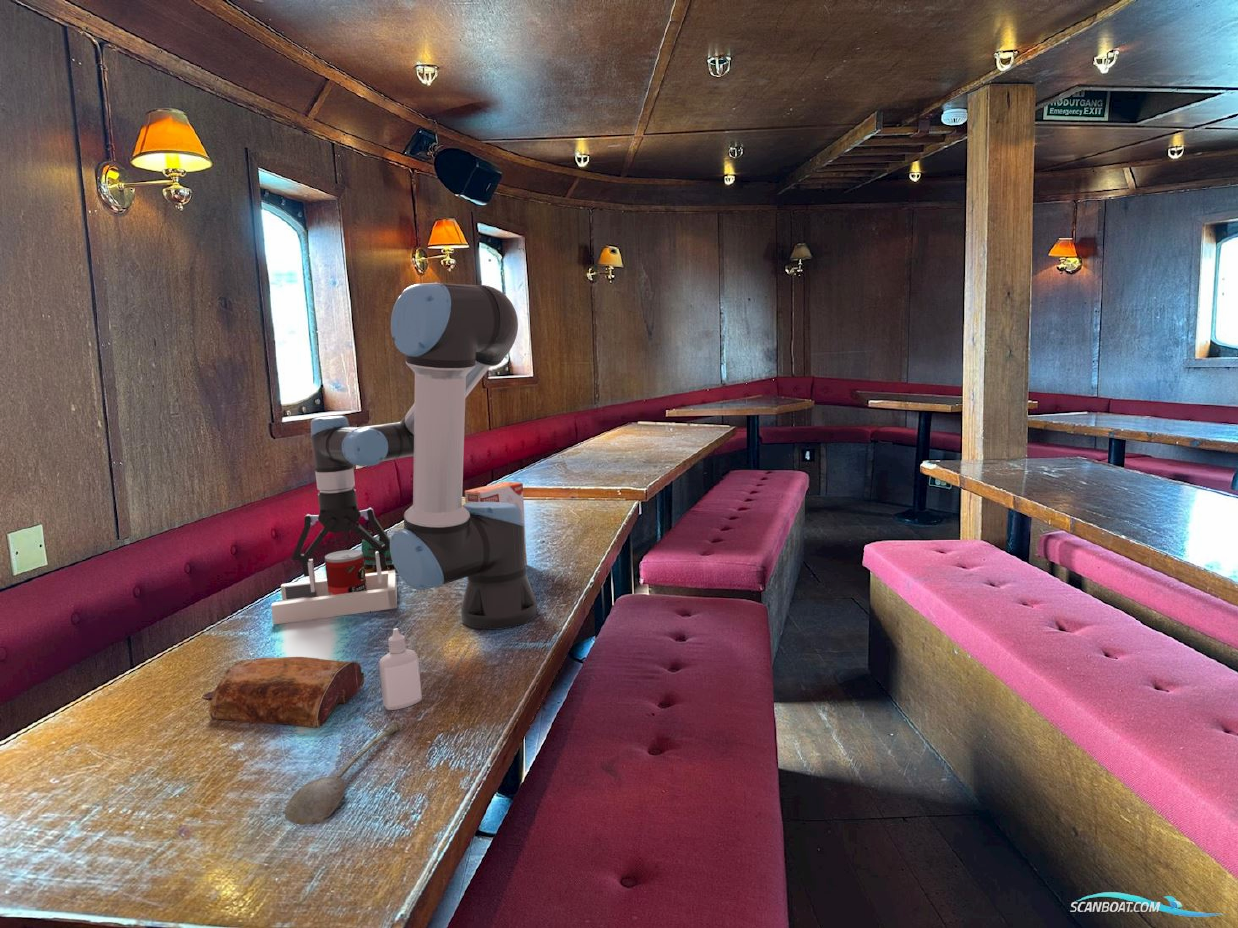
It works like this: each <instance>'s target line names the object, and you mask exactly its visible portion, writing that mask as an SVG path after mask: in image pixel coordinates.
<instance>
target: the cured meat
mask: <svg viewBox="0 0 1238 928" xmlns="http://www.w3.org/2000/svg"><path fill="white" fill-rule="evenodd" d="M365 678H366V677H365V673H364V672H362V666H361V664H360V663H359V662H357V661H345V660H333V659H322V658H316V657H306V656H286V657H259V658H258V657H257V658H251V659H243V660H240V661H238V662H235V663H234V665H231V666H230V667H228V668H227V669H226V672H225V673H224V675H223V676H222V677H221V679H220V681H219V683H218V684H217V686H216V688H215V689H214V691H210V692H207V693H205V694H203V695H202V698H203V699H204V700H205V699H207V701H210V703H209V716H210V718H211V719H217V720H227V721H234V722H240V723H241V722H242V723H249V724H263V725H266V724H267V725H268V724H269V725H270V724H275V725H276V724H277V725H279V724H280V725H291V726H292V725H293V726H299V727H300V726H302V727H309V728H320V727H322V726H323V725H324V724H326V722H327V720H328V718H329V715H330V714H331V713H332V712H333V711H334V710H335V708H336V707H337V705H339V704H348V702H349V701H351V700H352V699H353V698H354V697H355V696H356V695H357V694H359V692H360V691H361V689H362V687H363V686H364V683H365Z"/></svg>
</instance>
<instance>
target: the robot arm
mask: <svg viewBox="0 0 1238 928" xmlns="http://www.w3.org/2000/svg"><path fill="white" fill-rule="evenodd" d="M391 311H392V312H391V317H390V331H391V332H390V333H391V337H392V339H394V346H395V347H396V348H397V350H398V351H399V352H400V353H402V354H403V355H405V364H406V365H407V366H408V367H409V368H410V370H412V371H413V373H414V403H413V404H412V406H411V407H410V408H409V409H408V411H407V413H406V414H405V416H403V417H402V419H401V420H400V421H398V422H391V423H389V422H388V423H383V424H375V425H367V426H358V427H357V426H356V427H355V426H354V427H352V426H351V427H350V423H349V420H348V418H347V417H346V416H344V415H332V416H331V415H330V416H319V417H315V418H313V419H312V420H311V421H310V439H311V447H312V452H313V453H312V454H313V461H314V469H315V471H314V472H315V473H314V474H315V480H316V488H317V490H318V491H319V492H318V493H317V497H318V506H319V513H318V514H311V513H307V514H305V516H304V517H303V518H304V519H303V521H304V524H303V526H304V527H303V528H302V532H301V534H300V537H299V538H298V540H297V544H296V546H295V548H294V551H293V552H292V553H293V554H292V557H291V559H292V560H293V561H298V562H301V566H302V574H303V576H304V577H305V578H306V577H308V579H309V581H310V587H311V592H315V590H316V582H315V580H316V576H315V574H316V573H315V568H314V567H315V566H314V559H313V558H311V557H312V555H313V554H314V552H315V551H316V550H317V548H318V547H319V545H321V543H322V542H323V540H324V539H325V538H326V536H327V535H328V534H329V533H330V534H333V535H335V534H336V535H337V534H340V533H344V534H346V533H349V532H351V531H353V532H355V534H357V535H359V536H360V537H361V538H362V540H365V541H367V542H368V543H369V544H370V545H371V546H372V547H373V548H375V549H376V550H377V551H376V553H375V556H376V566H377V569H376V572H377V575H378V584H380V583H382V573H381V567H385V566H386V559H385V552H386V551H387V550H389V549H390V554H391V558H392V564H394V567H395V569H394V570H395V572H397V574H398V575H399V577H400V579H402V581H403V582H404V583H405V584H406V585H407V586H409V587H411V588H412V589H414V590H417V591H426V590H429V589H433V588H441V587H443V586H444V585H446V584H449V583H452V582H456V581H458V580H461V579H464V578H467V579H466V580H467V582H466V587H465V592H464V595H463V599H462V604H461V607H460V608H461V609H460V613H461V615H460V616H461V622H462V623H463V624H464V625H466V626H467V627H470V628H474V629H480V630H500V629H506V628H507V629H508V628H513V627H516V626H521V625H523V624H526V623H528V622H530V621H532V620H533V619H534V618H536V617H537V615H538V610H539V609H538V601H537V598H536V595H535V593H534V590H533V588H532V586H531V584H530V581H529V579H528V575H527V567H526V566H527V565H526V561H525V544H524V524H523V520H522V512H521V509H520V508H519V507H518V506H517V505H514V504H510V503H502V502H472V503H466V502H465V503H464V504H463V487H464V486H463V482H464V481H463V480H464V479H463V478H464V457H465V456H464V453H465V451H464V450H465V449H464V448H465V421H466V420H465V419H466V415H465V414H466V398H467V397H468V396H469V394H470V393H471V392H472V390H473V389H474V388H475V387H476V385H477V384H478V383H479V382H480V381H481V380H482V378H483V377H484V376H485V374H486V373H487V372H488V371H489V369H490V368H491V367H497V366H498V365H500V364H501V363H502V362H503V360H505V358H506V356H507V355H508V354H509V353H510V351H511V349H512V348H513V345H514V344H515V342H516V339H517V337H518V336H517V335H518V331H519V319H518V315H517V312H516V311H517V310H516V308H515V306H514V305H513V303H512V302H511V300H510V299H509V298H508V296H507V295H506V294H504V293H503V292H502V291H501V290H499V289H498V288H495V287H492V286H489V285H487V284H485V285H484V284H460V283H459V284H458V283H457V284H456V283H441V282H440V283H439V282H429V283H428V282H427V283H416V284H412V285H410V286H408V287H406V288H405V289H404V290H403V291H402V293H401V294H400V295H399V296H398V297H397V299H396V301H395V303H394V305H393V309H392V310H391ZM407 457H413V478H412V479H413V482H412V483H413V485H412V486H413V487H412V489H413V490H412V491H413V492H412V496H413V497H412V505H410V507H409V508H408V509H407V510H405V511H404V513H403V528H400V529H397V531H395V532H393V535H391V537H389V536H388V533H387V534H386V533H385V532H386V531H385V530H384V528H383V527H382V525H381V524H380V522H379V520H377V518H376V516H375V511H374V508H373V507H368V508H367V509H363V510H360V509H359V507H358V501H357V491H356V489H355V488H354V487H355V485H356V482H355V481H356V480H355V472H354V466H358V467H372V466H377V465H379V464H380V463H381V462H386V461H391V460H396V459H402V458H407ZM361 517H363V518H364V519H365V520H366V521H367V520H368V522H369V523H370V525H371V526H372V528H373V529H374V531H375V533H376V534H377V536H378V535H379V536H378V538H379V537H380V538H381V540H382V541H383V543H384V545H382V544H381V543H380V542H379V541H377V540H378V539H376V538H375V537H374V536H373V535H371V534H369V533H368V532H367V531H366V529H365V528H364V527H363V526H362V525H361V524H360V523H359V520H360V518H361ZM317 521H318V522H319V523H320V524H321V525H322V526H323V528H322V529H321V530H320V532H319V533H318V535H317V536H316V538H315V539H314V540H313V541H312V543H311V544H310V545H309V547H308V548H307V550H306V551H305V552H304V553H301V552H302V550H303V547H304V545H305V543H306V540H307V538H308V535H309V532H310V530H311V527H312V526H314V525H315V524H316V522H317Z"/></svg>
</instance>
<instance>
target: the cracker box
mask: <svg viewBox="0 0 1238 928" xmlns="http://www.w3.org/2000/svg"><path fill="white" fill-rule="evenodd" d="M464 498H465V500H464V501H465V504H466V503H472V502H502V503H510V504H514V505H517V506H518V507H519V508H520V509H521V512H522V520H523V524H524V544H525V561H526V566H527V565H528V561H527V544H526V543H527V542H526V523H525V522H526V521H525V520H526V519H525V505H524V487H523V483H522V482H518V481H503V482H499V483H493V484H490V485H486V486H480V487H475V488H472V489H468V490H467V489H466V490H464Z"/></svg>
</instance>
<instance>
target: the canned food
mask: <svg viewBox="0 0 1238 928" xmlns="http://www.w3.org/2000/svg"><path fill="white" fill-rule="evenodd" d="M324 566H325V568H324V569H325V575H326V579H327V585H328V593H329V595H337V594H344V593H352V592H360V591H367V587H366V577H365V567H364V558H363V552H362V551H361V550H357V549H344V550H338V551H333V552H330V553H328V554H326V555H324Z"/></svg>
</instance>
